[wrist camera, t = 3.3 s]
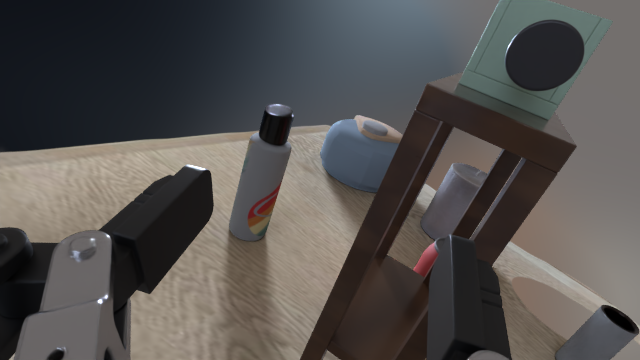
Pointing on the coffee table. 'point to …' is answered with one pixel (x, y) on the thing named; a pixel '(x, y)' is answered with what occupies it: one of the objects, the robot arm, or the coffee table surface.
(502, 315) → the robot arm
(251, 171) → the lotion bottle
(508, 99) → the green box scoop
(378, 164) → the alarm clock
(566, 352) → the grey black cylinder
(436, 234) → the pillar candle
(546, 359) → the coffee table surface
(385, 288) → the stand
